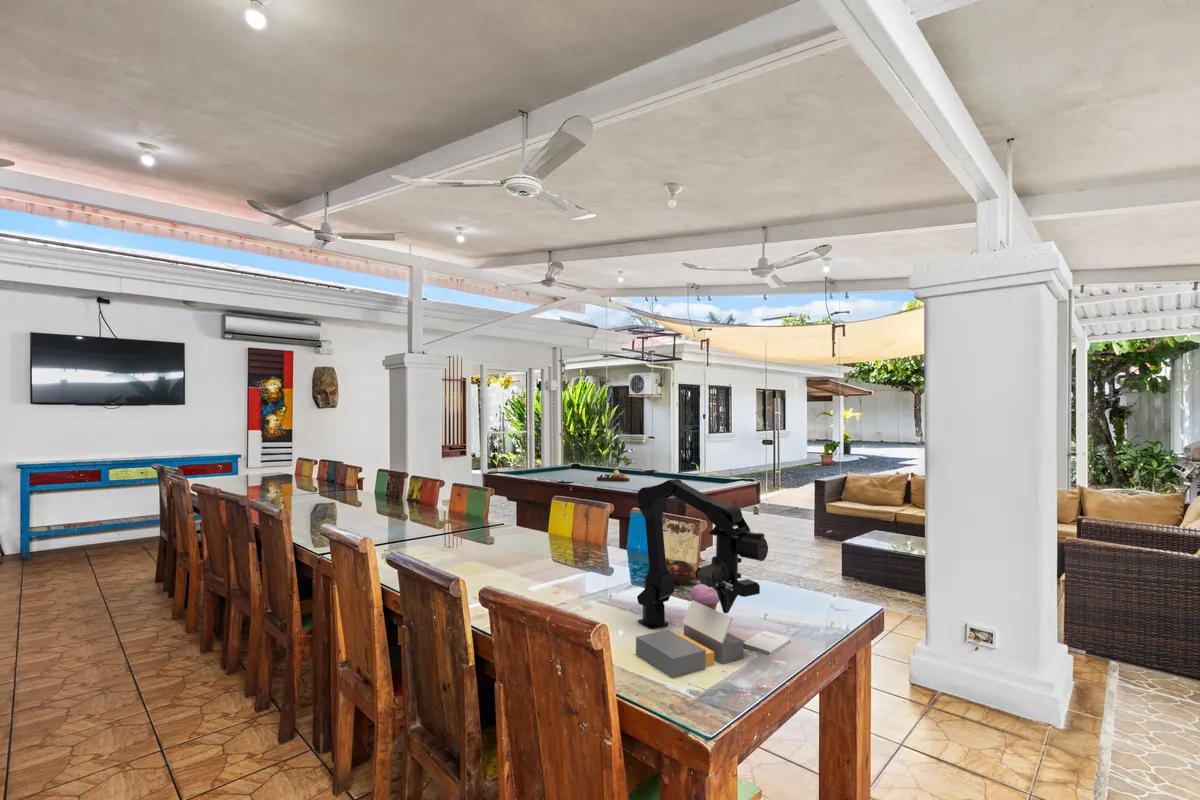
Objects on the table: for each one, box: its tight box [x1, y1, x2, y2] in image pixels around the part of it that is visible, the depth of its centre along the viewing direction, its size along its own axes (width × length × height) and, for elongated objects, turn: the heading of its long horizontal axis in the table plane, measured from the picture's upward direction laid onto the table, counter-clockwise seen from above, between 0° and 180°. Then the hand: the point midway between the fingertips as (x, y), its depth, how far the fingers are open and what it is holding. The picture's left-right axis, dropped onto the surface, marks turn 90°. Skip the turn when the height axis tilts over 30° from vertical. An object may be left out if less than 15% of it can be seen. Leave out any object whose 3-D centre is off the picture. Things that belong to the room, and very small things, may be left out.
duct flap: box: [682, 599, 733, 643], centre depth 158 cm, size 15×6×1 cm
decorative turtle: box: [665, 558, 700, 586], centre depth 218 cm, size 10×15×8 cm, turn 72°
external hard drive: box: [743, 630, 792, 656], centre depth 164 cm, size 2×8×12 cm
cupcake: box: [690, 583, 720, 611], centre depth 183 cm, size 9×9×10 cm
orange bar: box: [674, 632, 715, 668], centre depth 156 cm, size 14×4×4 cm
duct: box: [635, 625, 745, 679], centre depth 155 cm, size 15×22×4 cm, turn 121°
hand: (725, 612), depth 161 cm, fingers closed
